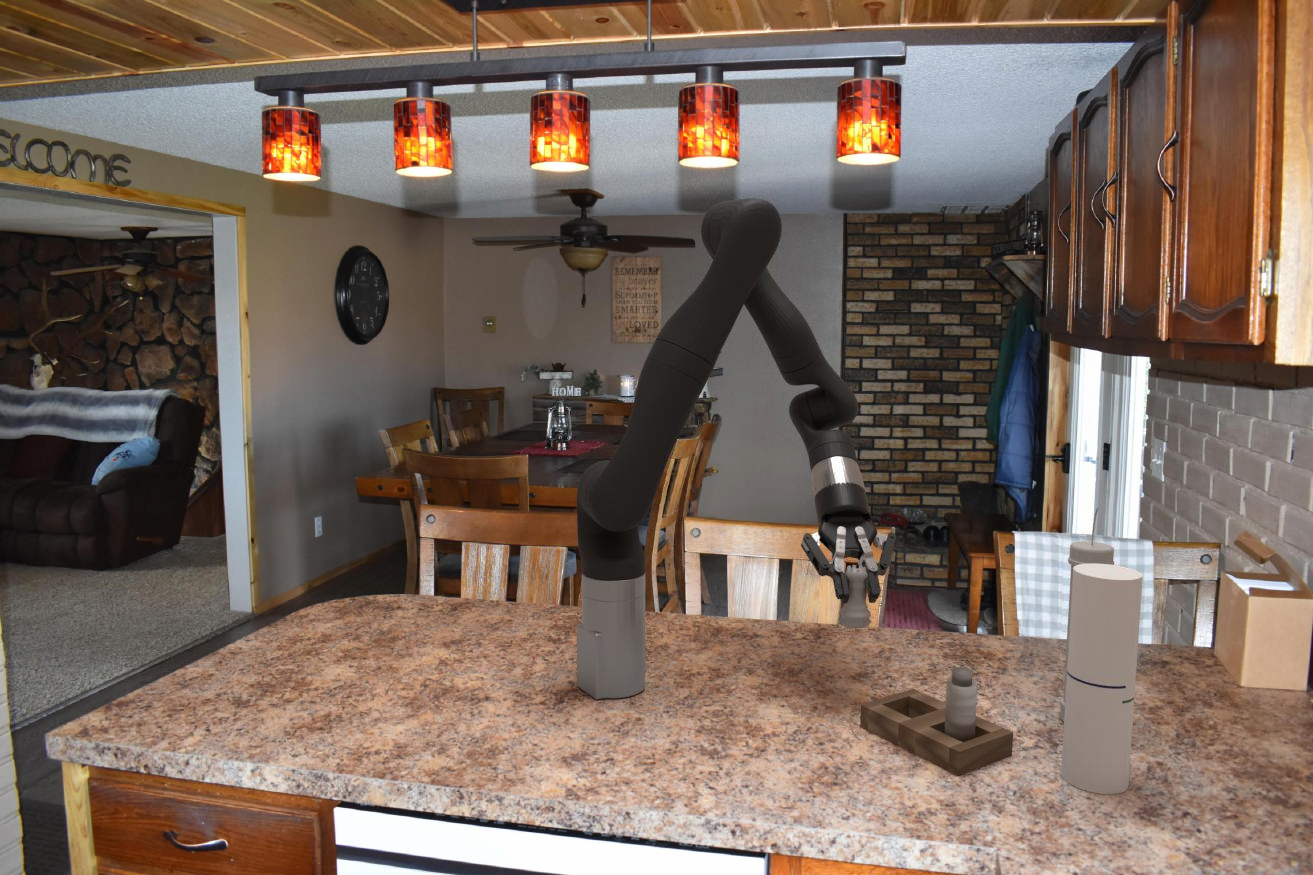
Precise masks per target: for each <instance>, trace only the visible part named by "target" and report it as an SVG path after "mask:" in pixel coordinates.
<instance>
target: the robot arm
mask: <svg viewBox="0 0 1313 875" xmlns="http://www.w3.org/2000/svg"><path fill="white" fill-rule="evenodd" d="M781 218H782V217H781V216H780V213H779V211H778V209H777V208H776V206H775V205H774V204H772V203H771V202H769V200H766V199H761V198H755V197H753V198H752V197H751V198H748V197H747V198H741V199H729V200H724V201H721V202H720V201H719V202H718V203H716V204H714V205H711V207H710V208H709V209H708V210H707V211H706V213H705V214H704V216H703V218H702V221H701V226H700V227H701V228H700V232H701V233H700V234H701V241H702V244H703V246H704V248H705V249H706V251H707V253H708V254H709V256H710V257H711V260H712V262H711V263H710V265H709V268H708V269H707V271H706V273H705V276H704V277H703V279H702V281H701V282H700V283H699V284H698V286H697V287H696V288H695V290H694V291H693V292H692V293H691V294H690V295H689V296H688V297H687V299H686V300H684V302H682V304H681V305H680V306H679V307H678V308H677V309H676V310H675V312H673V314H672V315H671V316H669V319H668V320H667V321H666V322H665V323H664V324H663V326H662V327H661V329H660V331H659V333H658V334H657V335H656V338H655V340H654V342H653V344H652V346H651V348H650V350H649V353H648V355H647V356H646V358H645V361H644V363H643V366H642V368H641V370H640V374H639V377H638V381H637V385H636V390H635V394H634V399H633V404H632V410H631V413H630V418H629V422H628V425H627V427H626V430H625V432H624V435H623V437H622V439H621V441H620V443H619V444H618V446H617V447H616V449H615V451H614V454H613V455H612V457H611V458H610V459H609V460H608V459H607V460H606V459H605V460H600V461H597V462H595V463H593V464H591V465H589V467H587V468H586V469H585V470H584V472H583V473H582V475H581V477H580V478H579V481H578V484H577V491H576V521H577V522H576V526H577V527H576V528H577V529H576V531H577V546H578V547H577V548H578V552H579V558H580V563H581V564H580V565H581V622H579V623H577V624H576V628H575V629H576V686H577V687H578V688H579V689H581V690H582V691H584V692H585V693H587V694H588V695H589V696H591V697H592V698H594V699H595V700H601V699H622V698H629V697H632V696H635V695H638V694H639V693H641V692H642V691H643V690H644V689H646V555H645V552H644V550H643V545H642V543H641V539H640V532H639V524H640V523H641V522H642V521H644V519H645V518H646V516H647V515H648V513H649V511H650V509H651V507H652V504H653V503H654V499H655V496H656V494H657V492H658V490H659V489H658V488H659V485H660V484H661V480H662V478H663V474H664V473H665V469H666V466H667V463H668V461H669V458H670V456H671V453H672V451H673V449H674V447H675V445H676V443H677V441H678V439H679V437H680V435H681V434H682V431H683V430H684V428H685V426H686V423H688V420H689V418H690V415H691V414H692V412H693V410H694V407H695V405H696V403H697V401H698V400H699V397H700V396H701V394H702V392H703V390H704V388H705V386H706V384H707V382H708V380H709V378H710V376H711V374H712V372H713V370H714V368H715V366H716V363H717V361H718V358H719V356H720V354H721V351H722V349H723V347H724V345H725V343H726V341H727V339H728V337H729V336H730V333H731V331H732V329H733V327H734V325H735V323H736V321H737V320H738V317H739V315H740V313H741V311H742V309H743V307H745V308H746V310H747V311H748V314H749V315H750V317H751V318H752V320H753V321H754V324H755V325H756V327H757V329H758V330H759V333H760V334H761V336H762V338H763V339H764V342H765V344H766V345H767V348H768V351H769V352H770V354H771V357H772V358H773V360H774V362H775V364H776V366H777V368H778V370H779V372H780V374H781V376H782V378H783V381H785V382H786V383H787V384H788V385H789V386H805V385H814V386H817V387H815V388H812V389H809V390H807V391H803V392H801V393H798V394H796V395H795V396H794V397H793V398H792V399H791V401H790V403H789V408H788V413H789V417H790V420H791V423H792V424H793V425H794V427H795V429H796V431H797V433H798V434H799V436H800V438H801V440H802V441H803V444H804V446H805V450H806V452H807V456H808V461H809V467H810V468H809V469H810V473H811V489H812V498H813V501H814V506H815V512H816V517H817V518H816V519H817V525H818V530H817V532H815V533H812V534H811V533H809V532H806V533H804V534H803V538H802V540H801V543H800V546H801V548H802V551H803V552H804V553H805V556H806V557H807V558H808V559H809V561H810V563H811V564H812V566H813V567H814V569H815V570H816V572H817V574H818V575H819V576H820V577H825V576H827V577H830V579H831V580H832V582H833V588H834V593H835V594H834V595H835V597H836V599H837V600H840V602H841V604H844V603H847V602H848V600H849V590H848V585H847V578H846V574H845V572H844V560H845V559H846V558H852V559H855V560H856V561H857V564H858V566H859V565H860V566H863V567H865V568H866V572H867V574H868V576H867V577H866V579H865V584H866V587H865V590H866V593H867V598H868V599H867V600H868V602H869V604H875V603H876V602H877V600H878V599H879V598H880V595H881V593H882V589H881V584H880V579H879V576H880V577H881V576H885V575H886V573H887V570H888V569H889V567H890V565H891V560H892V556H893V552H894V548H895V544H896V540H897V535H896V533H894V532H888V533H887V534H886V533H883V532H881V531H878V529H877V527H876V526H875V525H874V524H873V521H872V515H871V512H870V506H869V503H868V497H867V492H866V488H865V483H864V479H863V475H862V472H861V470H860V467H859V463H858V458H857V453H856V450H855V446H854V445H855V444H854V442H853V439H852V437H851V435H850V434H849V433H848V432H847V431H844V430H840V429H836V428H839V427H843V426H846V425H849V423H852V422H854V420H855V419H856V417H857V414H858V412H859V403H858V399H857V397H856V395H855V393H854V392H853V390H852V389H851V388H850V386H849V385H848V384H847V383H846V382H845V381H844V379H843V378H842V377H841V376H840V375H839V374H838V373H837V372H836V371H835V370H834V369H833V368H834V367H832V366H831V365H830V364H829V362H828V361H827V359H826V358H825V356H824V353H823V352H822V350H821V347H820V345H819V343H818V341H817V339H816V336H815V334H814V332H813V330H812V328H811V326H810V325H809V323H808V322H807V320H806V318H805V317H804V315H803V314H802V312H801V311H800V310H799V308H797V307H796V305H795V304H794V303H793V302H792V301H791V300H790V299H789V297H788V296H787V295H786V294H785V292H784V291H783V290H782V289H781V287H780V286H779V285H778V284H777V282H776V281H775V279H774V278H773V276H772V275H771V273H770V271H769V269H768V268H767V267H768V265H769V263H771V262H770V261H771V260H772V258H773V257H774V255H775V254H776V251H777V249H778V247H779V243H780V241H781V237H782V231H783V230H782V228H783V227H782V226H783V225H782V219H781ZM874 541H876V542H877V546H878V548H879V550H881V552H880V558H879V561H878V562H876V560H875V557H874V551H873V549H872V548H871V547H872V545H873V542H874ZM820 544H822V545H823V546H824V547H825V548H826V549H827V551H829V552H830V553H831V563H830V562H829V560H828V558H827V557H826V555H825V554H824V552H823V551H822V549H821V547H820Z"/></svg>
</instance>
